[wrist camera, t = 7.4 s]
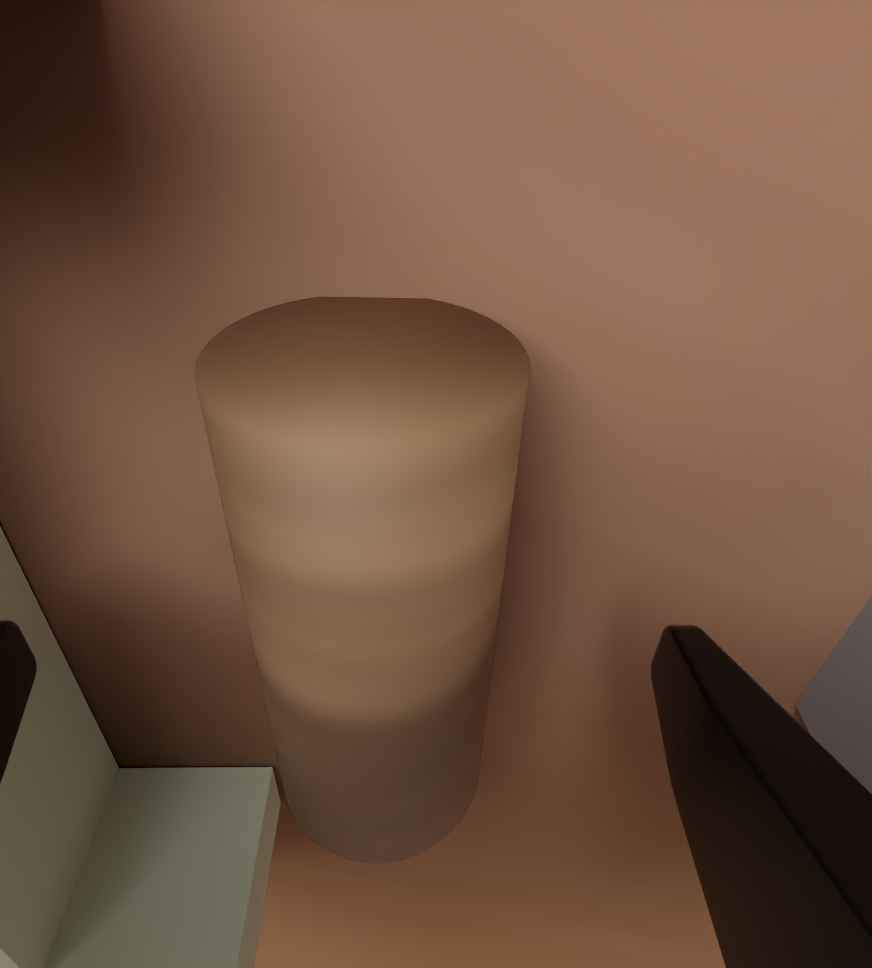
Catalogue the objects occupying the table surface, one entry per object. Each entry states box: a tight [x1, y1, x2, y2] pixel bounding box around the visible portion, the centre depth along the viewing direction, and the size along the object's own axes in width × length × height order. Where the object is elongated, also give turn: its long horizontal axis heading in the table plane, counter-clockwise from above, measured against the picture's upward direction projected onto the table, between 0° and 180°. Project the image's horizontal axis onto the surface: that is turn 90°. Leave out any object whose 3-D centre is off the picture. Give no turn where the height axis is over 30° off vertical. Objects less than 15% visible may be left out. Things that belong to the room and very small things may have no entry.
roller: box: [195, 297, 530, 863], centre depth 9 cm, size 8×4×4 cm, turn 178°
